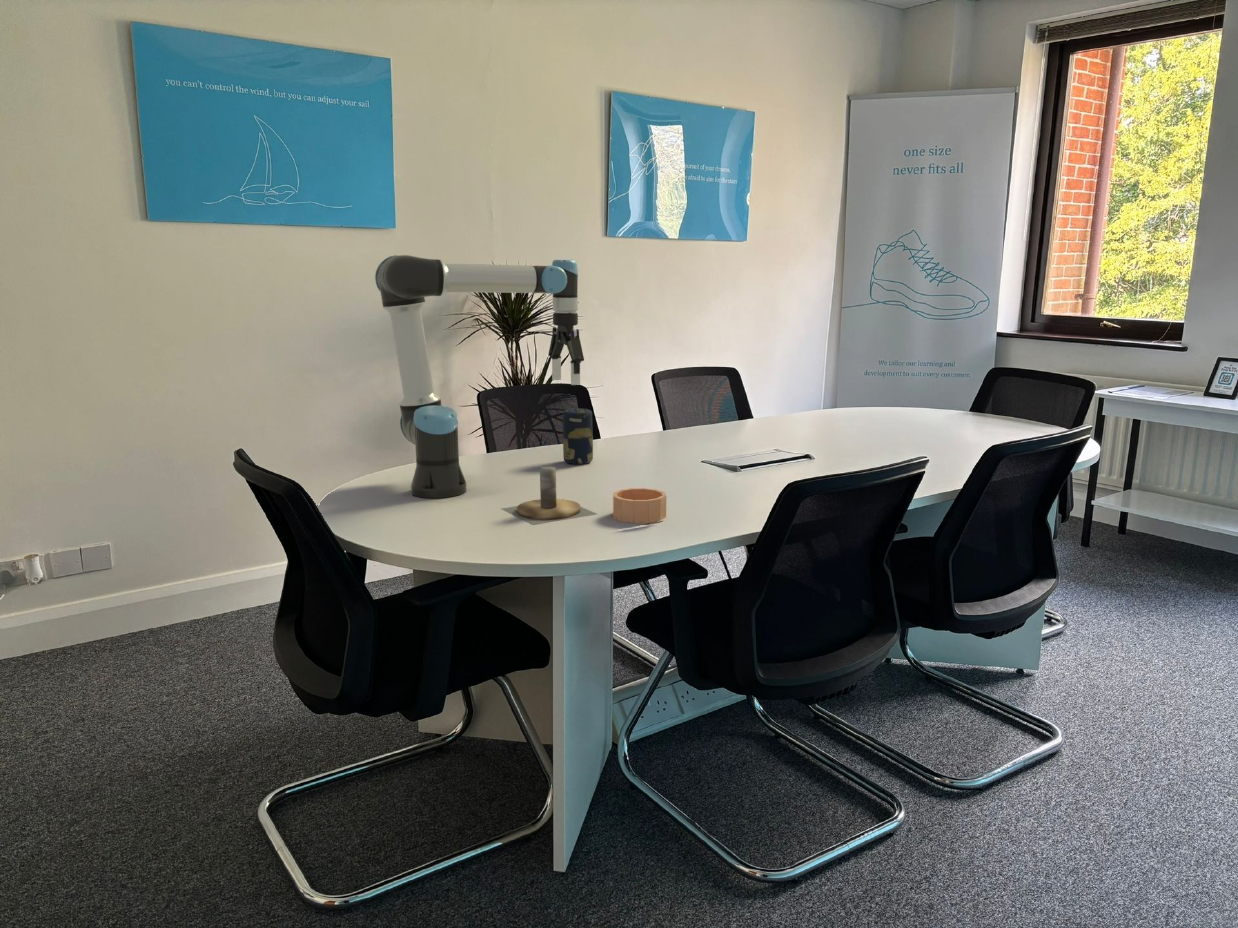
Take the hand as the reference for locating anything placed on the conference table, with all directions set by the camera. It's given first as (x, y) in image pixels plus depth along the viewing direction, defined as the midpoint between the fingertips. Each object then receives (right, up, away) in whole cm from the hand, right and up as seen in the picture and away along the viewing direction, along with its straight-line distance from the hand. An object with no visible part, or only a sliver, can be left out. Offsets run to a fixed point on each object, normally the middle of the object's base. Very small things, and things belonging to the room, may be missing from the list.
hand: (565, 382), depth 276 cm
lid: (-1, -37, -48) cm, 60 cm away
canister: (+3, -25, +13) cm, 28 cm away
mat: (-1, -38, -48) cm, 61 cm away
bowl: (+21, -38, -52) cm, 68 cm away
